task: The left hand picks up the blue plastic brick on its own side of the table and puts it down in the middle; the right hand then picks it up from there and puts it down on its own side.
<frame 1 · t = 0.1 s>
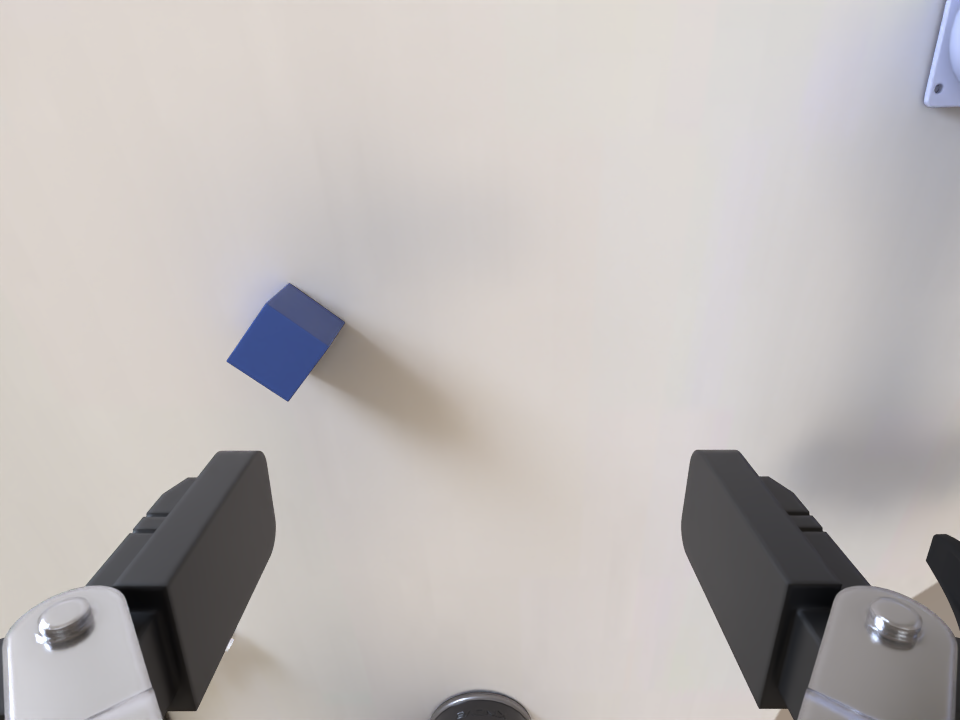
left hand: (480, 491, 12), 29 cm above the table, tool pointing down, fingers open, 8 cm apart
brick: (298, 328, 41), on the table
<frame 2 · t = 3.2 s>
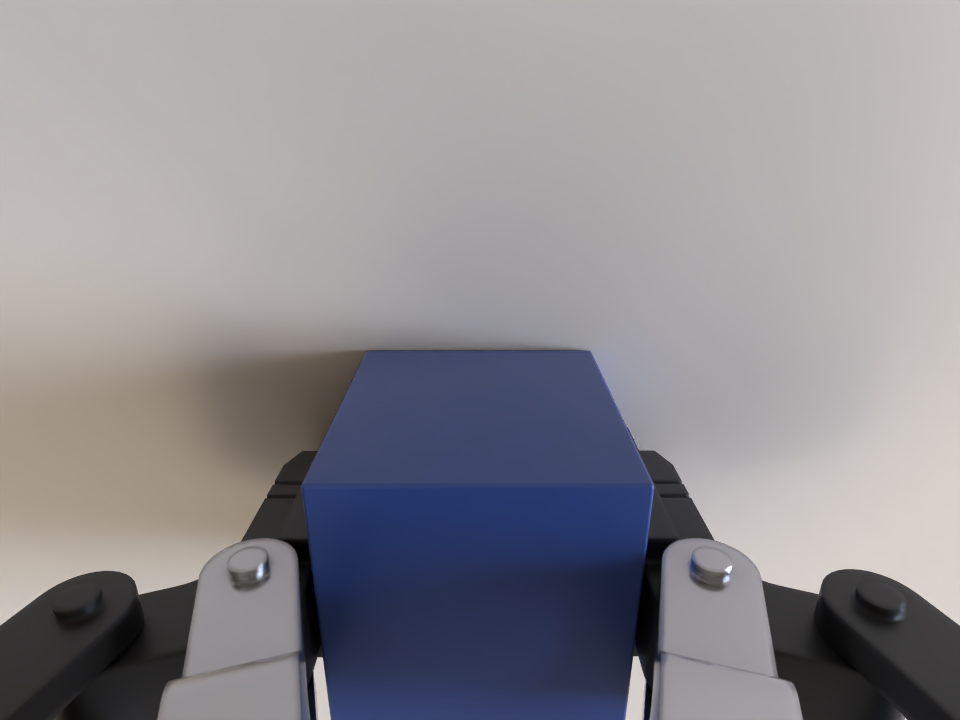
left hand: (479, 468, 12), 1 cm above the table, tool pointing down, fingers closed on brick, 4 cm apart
brick: (478, 454, 13), on the table, touching left hand
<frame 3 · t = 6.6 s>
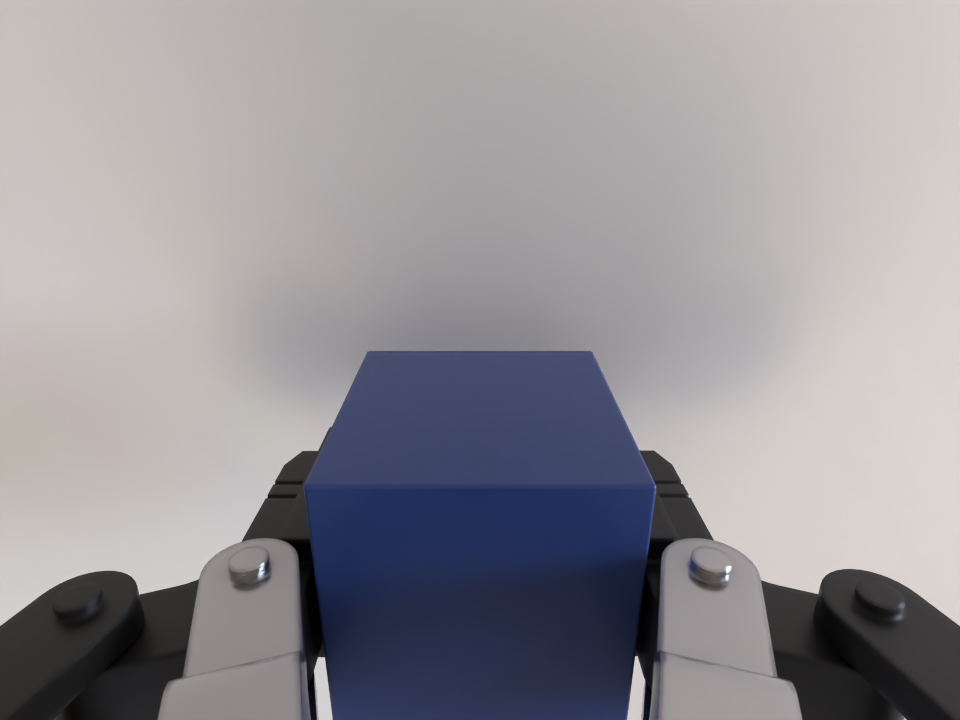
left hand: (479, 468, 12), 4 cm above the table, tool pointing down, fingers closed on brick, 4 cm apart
brick: (479, 455, 13), point 3 cm above the table, touching left hand
when the left hand's fingers open (2 cm above the table, at t = 10.1 s): brick drops 1 cm, on the table.
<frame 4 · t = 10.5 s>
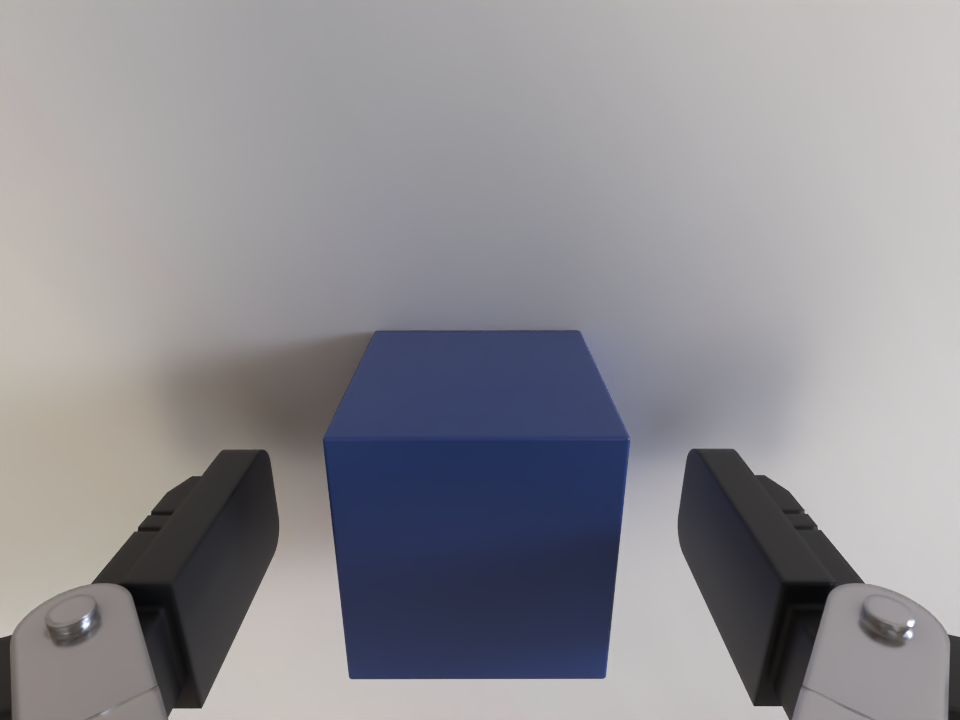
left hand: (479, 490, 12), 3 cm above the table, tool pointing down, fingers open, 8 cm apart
brick: (477, 427, 14), on the table
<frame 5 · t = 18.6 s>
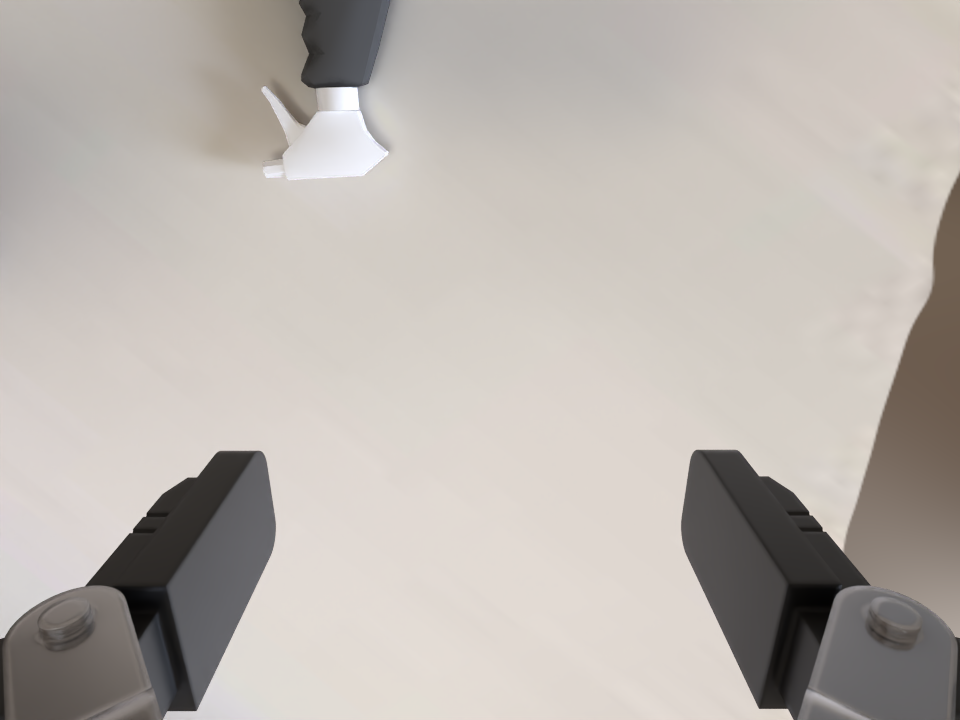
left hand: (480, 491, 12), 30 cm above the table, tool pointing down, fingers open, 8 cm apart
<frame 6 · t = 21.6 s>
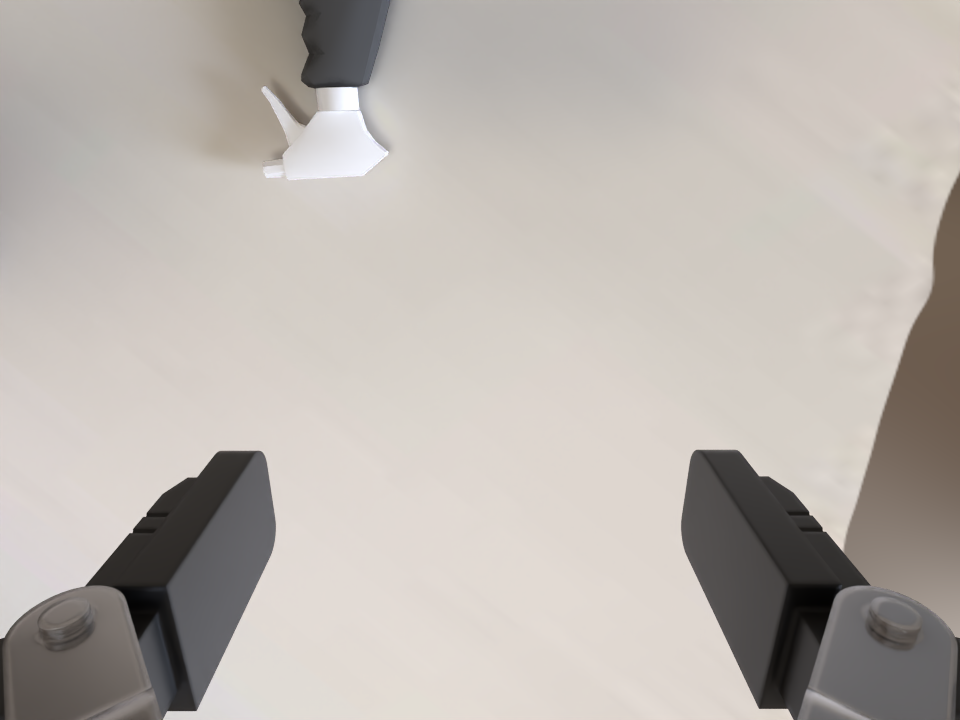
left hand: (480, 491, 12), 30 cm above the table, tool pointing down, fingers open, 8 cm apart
when the right hand's fingers open (3 cm above the table, at t = 24.8 s): brick drops 1 cm, on the table.
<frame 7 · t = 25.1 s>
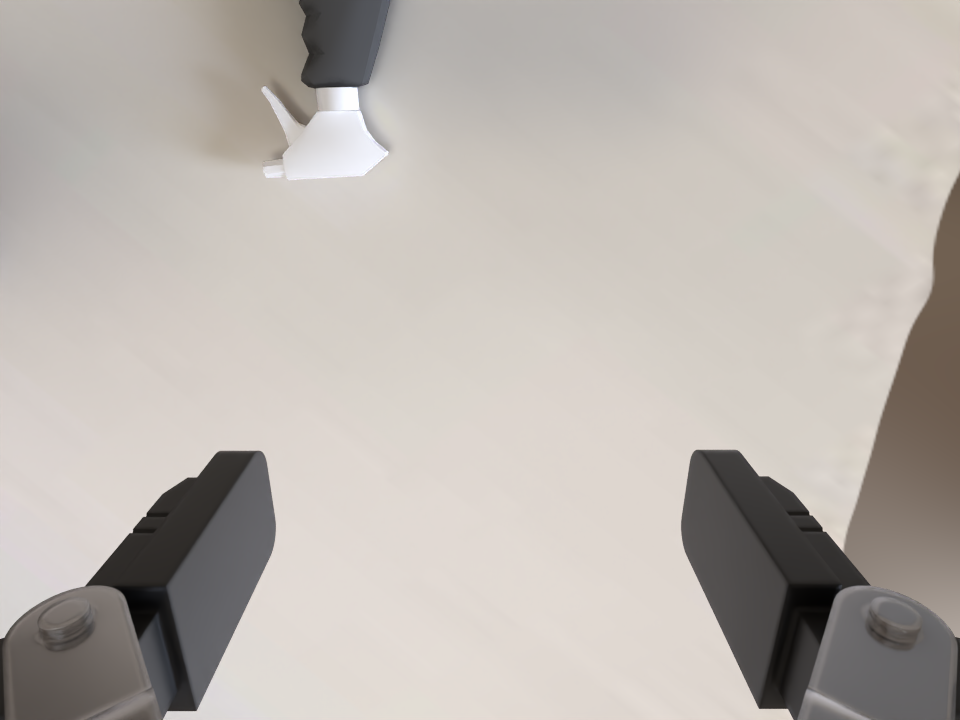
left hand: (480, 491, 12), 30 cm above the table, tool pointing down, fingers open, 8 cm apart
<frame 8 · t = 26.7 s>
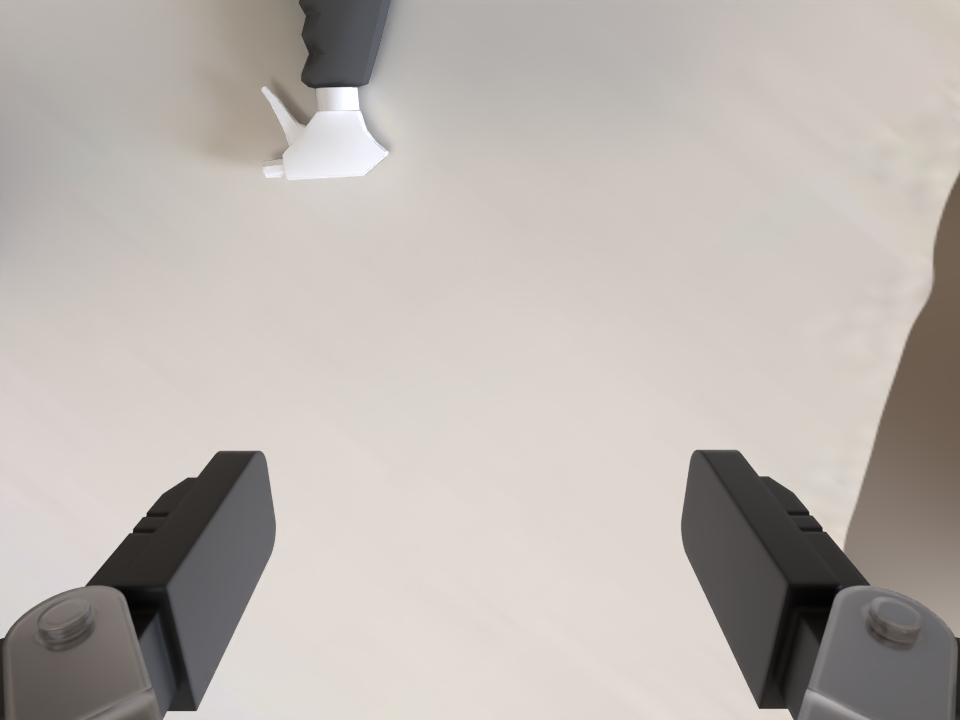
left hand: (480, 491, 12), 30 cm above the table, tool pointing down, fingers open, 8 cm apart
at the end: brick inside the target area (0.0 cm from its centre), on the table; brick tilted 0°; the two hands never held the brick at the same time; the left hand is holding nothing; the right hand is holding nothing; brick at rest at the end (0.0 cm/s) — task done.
